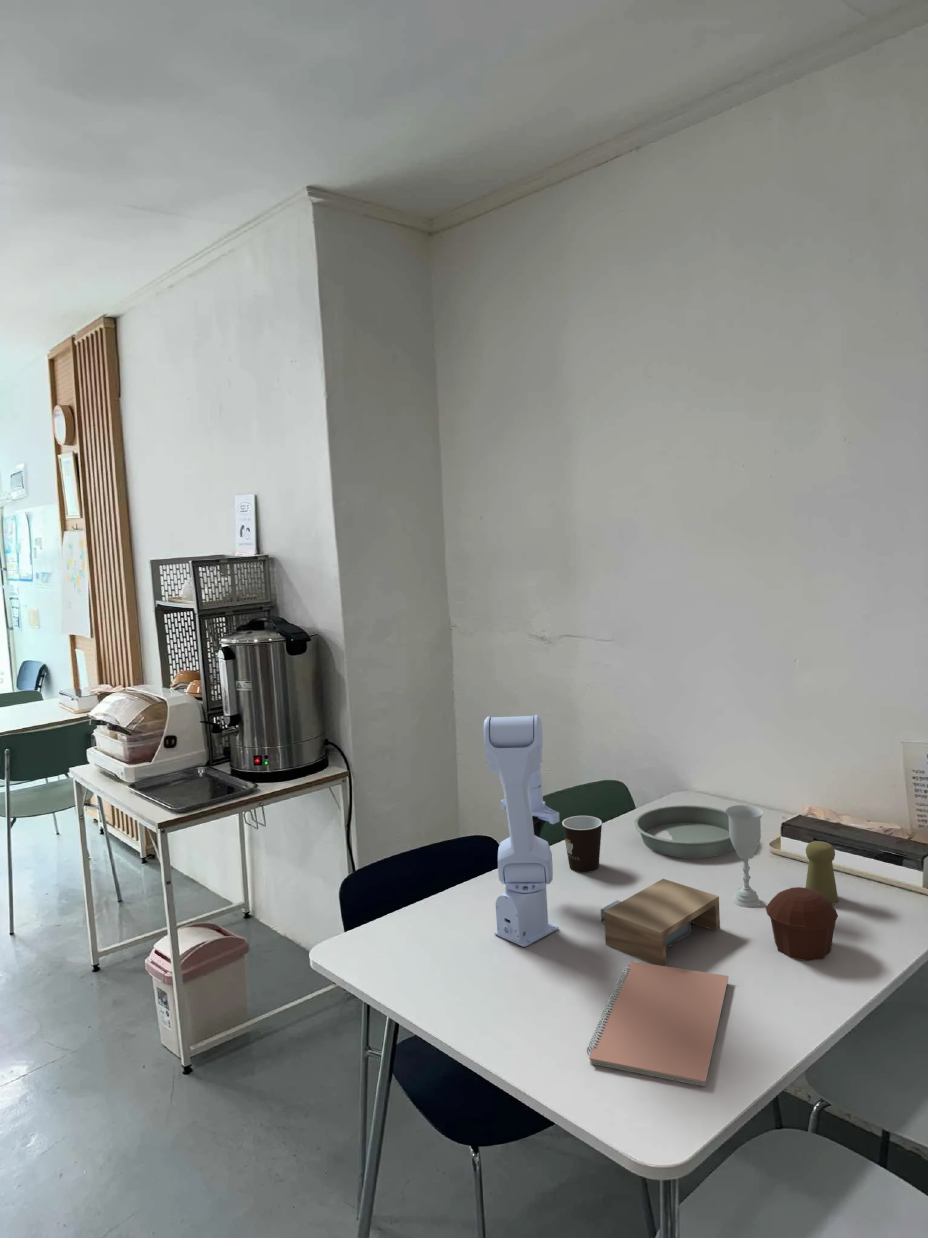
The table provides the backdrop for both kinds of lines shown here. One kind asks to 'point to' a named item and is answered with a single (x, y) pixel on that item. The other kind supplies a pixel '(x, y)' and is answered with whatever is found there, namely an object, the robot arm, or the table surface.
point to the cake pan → (687, 831)
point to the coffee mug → (583, 842)
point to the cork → (821, 870)
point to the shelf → (658, 918)
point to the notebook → (661, 1023)
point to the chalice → (745, 846)
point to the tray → (669, 939)
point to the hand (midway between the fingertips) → (531, 849)
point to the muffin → (802, 923)
